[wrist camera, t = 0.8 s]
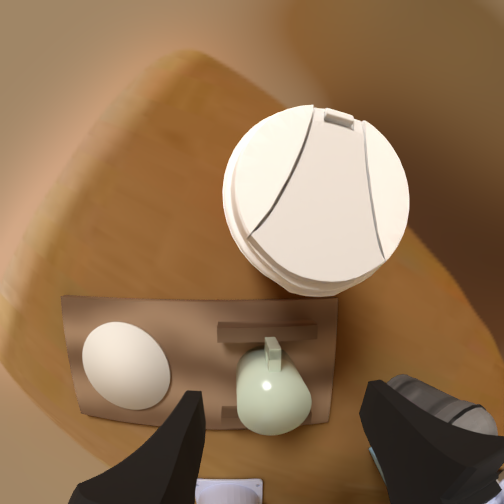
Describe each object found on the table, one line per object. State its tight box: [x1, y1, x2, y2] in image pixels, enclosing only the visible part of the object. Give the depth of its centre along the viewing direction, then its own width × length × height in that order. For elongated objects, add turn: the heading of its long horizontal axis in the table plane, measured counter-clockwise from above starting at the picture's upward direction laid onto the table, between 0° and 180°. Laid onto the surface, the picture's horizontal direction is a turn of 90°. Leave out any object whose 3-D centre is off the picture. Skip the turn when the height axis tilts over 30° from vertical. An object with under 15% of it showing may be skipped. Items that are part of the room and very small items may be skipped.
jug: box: [236, 337, 312, 435], centre depth 21 cm, size 7×5×6 cm
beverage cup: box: [387, 374, 499, 483], centre depth 16 cm, size 7×7×20 cm
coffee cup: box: [223, 105, 409, 297], centre depth 18 cm, size 8×8×15 cm
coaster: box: [82, 322, 171, 410], centre depth 23 cm, size 9×9×1 cm
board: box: [61, 295, 338, 430], centre depth 23 cm, size 13×26×3 cm, turn 90°
